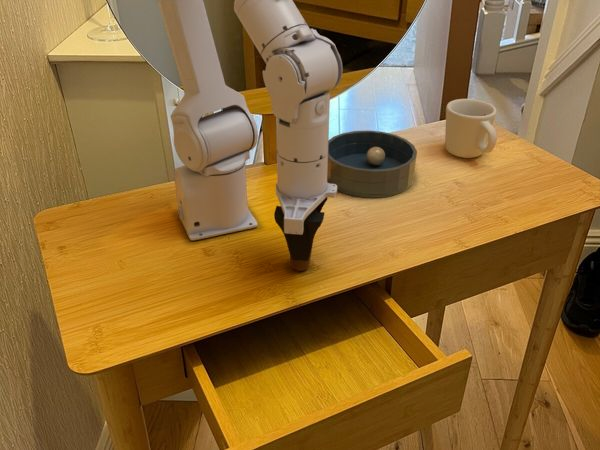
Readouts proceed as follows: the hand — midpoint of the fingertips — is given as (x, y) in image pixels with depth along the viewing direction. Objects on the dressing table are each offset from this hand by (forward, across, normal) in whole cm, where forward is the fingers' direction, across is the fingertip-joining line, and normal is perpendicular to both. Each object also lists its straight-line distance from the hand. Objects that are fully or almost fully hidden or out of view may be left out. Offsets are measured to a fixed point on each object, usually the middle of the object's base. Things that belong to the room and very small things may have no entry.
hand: (301, 251), depth 77 cm
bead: (0, +28, -8) cm, 29 cm away
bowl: (+2, +26, -7) cm, 27 cm away
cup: (+3, +35, -24) cm, 42 cm away
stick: (+2, 0, 0) cm, 2 cm away
